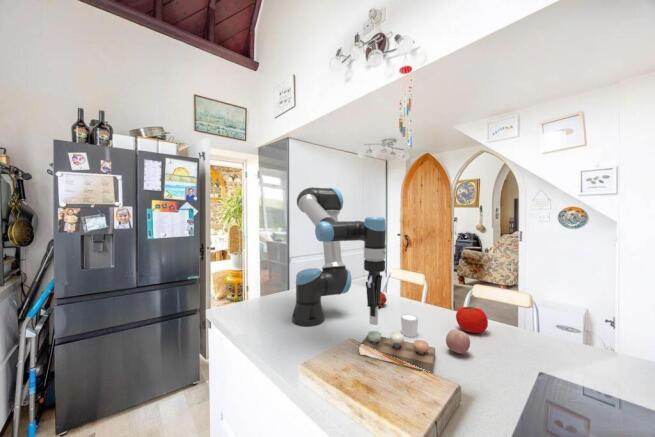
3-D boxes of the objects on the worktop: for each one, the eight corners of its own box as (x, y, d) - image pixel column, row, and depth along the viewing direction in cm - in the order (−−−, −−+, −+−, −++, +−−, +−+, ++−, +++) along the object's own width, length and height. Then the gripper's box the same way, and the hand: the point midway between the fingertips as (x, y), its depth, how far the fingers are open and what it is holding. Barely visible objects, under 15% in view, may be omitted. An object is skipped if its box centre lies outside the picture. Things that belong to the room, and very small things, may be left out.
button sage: (366, 350, 94) (366, 335, 94) (370, 344, 98) (370, 330, 98) (379, 353, 92) (379, 337, 92) (382, 347, 96) (382, 332, 96)
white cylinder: (418, 331, 110) (418, 315, 110) (418, 338, 104) (418, 321, 104) (401, 329, 113) (401, 313, 112) (400, 336, 106) (400, 319, 106)
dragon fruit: (371, 312, 138) (381, 309, 147) (384, 304, 134) (393, 302, 143) (363, 296, 141) (374, 295, 151) (376, 289, 138) (385, 288, 147)
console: (358, 354, 92) (358, 346, 92) (368, 341, 102) (368, 333, 102) (432, 373, 81) (432, 363, 81) (435, 356, 91) (435, 347, 91)
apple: (469, 361, 87) (469, 337, 87) (444, 355, 92) (444, 332, 92) (470, 351, 94) (470, 329, 94) (447, 345, 98) (447, 324, 98)
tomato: (485, 328, 114) (486, 304, 114) (489, 339, 103) (489, 313, 103) (455, 323, 119) (455, 300, 119) (456, 333, 108) (456, 308, 108)
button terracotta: (412, 361, 87) (412, 344, 87) (414, 354, 91) (414, 339, 91) (427, 364, 84) (427, 347, 84) (429, 358, 89) (429, 341, 89)
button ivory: (388, 352, 90) (388, 336, 90) (391, 346, 94) (391, 331, 94) (402, 355, 88) (402, 339, 88) (404, 349, 92) (404, 333, 92)
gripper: (379, 263, 87) (378, 333, 88) (389, 257, 99) (388, 319, 99) (358, 261, 91) (357, 328, 91) (370, 255, 102) (369, 315, 103)
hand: (373, 323), depth 95 cm, fingers closed
